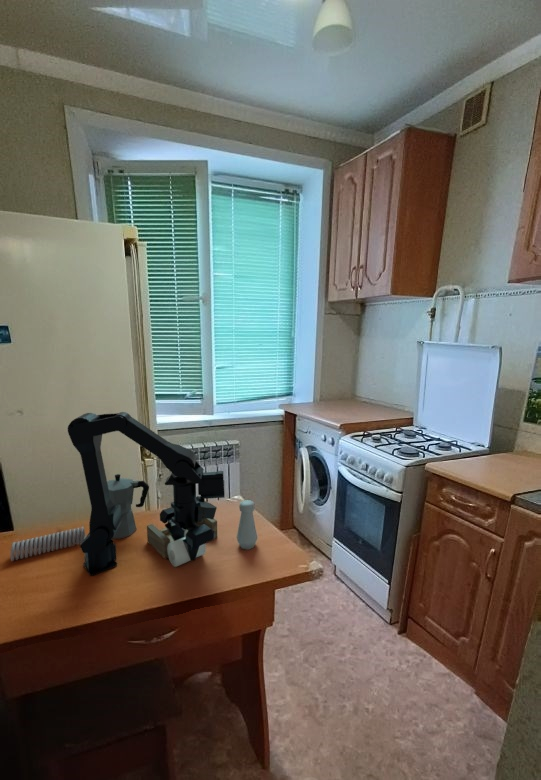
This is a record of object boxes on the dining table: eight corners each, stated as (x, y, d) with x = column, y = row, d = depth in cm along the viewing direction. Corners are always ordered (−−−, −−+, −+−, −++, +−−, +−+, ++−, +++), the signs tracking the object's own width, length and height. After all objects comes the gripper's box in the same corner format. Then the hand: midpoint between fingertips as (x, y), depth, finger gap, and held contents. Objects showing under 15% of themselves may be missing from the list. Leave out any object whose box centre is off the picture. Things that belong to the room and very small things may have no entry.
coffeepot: (92, 541, 105) (88, 481, 103) (102, 524, 114) (98, 469, 112) (148, 537, 107) (145, 479, 105) (153, 521, 117) (150, 467, 114)
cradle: (164, 559, 97) (164, 541, 96) (147, 541, 105) (146, 525, 104) (217, 536, 108) (217, 520, 107) (198, 522, 116) (197, 507, 115)
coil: (8, 550, 94) (86, 531, 103) (9, 539, 97) (85, 522, 107) (10, 565, 95) (87, 545, 104) (11, 554, 99) (86, 536, 108)
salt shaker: (232, 547, 102) (232, 503, 100) (243, 537, 107) (243, 496, 105) (250, 553, 99) (250, 508, 98) (261, 543, 104) (261, 500, 103)
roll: (178, 571, 92) (177, 549, 91) (167, 560, 96) (166, 539, 95) (206, 558, 97) (206, 537, 96) (194, 548, 102) (194, 528, 101)
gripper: (231, 501, 93) (232, 558, 95) (193, 480, 107) (195, 530, 109) (192, 515, 85) (194, 576, 88) (157, 491, 99) (160, 544, 101)
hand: (186, 554), depth 97 cm, fingers closed on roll, 6 cm apart
